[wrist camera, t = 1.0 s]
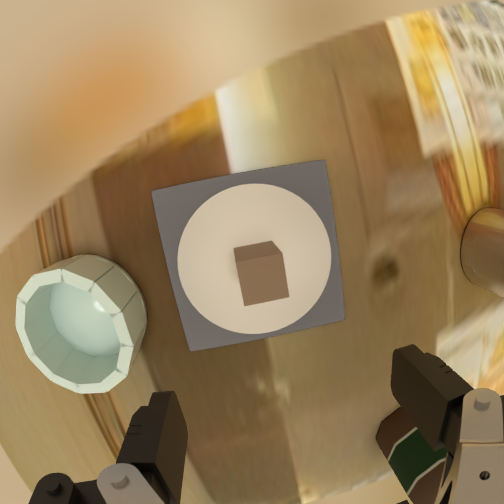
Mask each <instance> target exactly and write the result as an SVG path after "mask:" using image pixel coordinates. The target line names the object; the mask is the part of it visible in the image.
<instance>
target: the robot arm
mask: <svg viewBox="0 0 504 504" xmlns="http://www.w3.org/2000/svg"><path fill="white" fill-rule="evenodd" d="M461 261H462V266H463V270H464V272H465V274H466V276H467V278H468V279H469V280H470V281H471V282H473V283H474V284H476V285H479V286H481V287H483V288H485V289H487V290H489V291H492V292H494V293H496V294H498V295H500V296H502V297H504V210H503V209H496V208H489V207H488V208H483V209H481V210H480V211H478V212H477V213H476V214H475V215H474V216H473V217H472V219H471V220H470V221H469V223H468V226H467V228H466V230H465V233H464V236H463V241H462V246H461ZM391 389H392V393H393V396H394V397H395V399H396V400H397V402H398V403H399V404H400V406H401V407H402V408H403V410H404V411H405V412H406V414H407V415H408V416H409V418H410V419H411V420H412V422H413V423H414V424H415V426H416V427H417V429H418V430H419V431H420V433H421V434H422V435H423V437H424V438H425V439H426V441H427V442H428V444H429V445H430V446H431V448H432V449H433V451H436V450H438V449H441V448H443V447H446V448H447V449H448V451H447V454H446V458H445V464H444V469H443V473H442V478H441V482H440V487H439V491H438V495H437V498H436V501H435V503H434V504H504V395H502V396H499V395H498V394H497V393H496V392H495V391H493V390H490V389H486V388H478V389H473V388H472V387H471V386H470V385H469V384H468V383H467V382H466V381H465V380H464V379H462V378H461V377H460V376H459V375H458V374H457V373H456V372H455V371H453V370H452V369H451V368H450V367H449V366H447V365H446V363H445V362H443V361H442V360H441V359H440V358H439V357H437V356H434V355H432V354H430V353H423V352H422V351H421V350H420V349H419V348H418V347H416V346H415V345H414V344H411V345H408V346H405V347H402V348H398V349H395V350H394V352H393V360H392V374H391ZM126 434H127V435H125V438H124V441H123V444H122V447H121V450H120V453H119V456H118V458H117V461H116V464H113V465H111V466H108V467H107V468H105V469H104V470H103V471H102V472H101V473H100V474H99V476H98V478H97V480H93V481H86V482H79V483H73V481H72V480H71V479H70V477H69V476H67V475H65V474H63V473H52V474H48V475H46V476H44V477H43V478H42V479H41V480H40V481H39V482H38V483H37V485H36V487H35V490H34V492H33V494H32V497H31V499H30V502H29V504H180V498H181V489H182V480H183V472H184V463H185V455H186V447H187V439H188V432H187V425H186V422H185V419H184V416H183V413H182V411H181V408H180V405H179V402H178V399H177V396H176V394H175V392H174V391H165V392H153V393H152V396H151V399H150V402H149V405H148V406H141V407H140V408H139V409H138V410H137V411H136V412H135V413H134V415H133V416H132V419H131V422H130V424H129V427H128V430H127V433H126ZM397 504H409V503H408V501H407V500H405V501H402V502H400V503H397Z"/></svg>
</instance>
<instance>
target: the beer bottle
mask: <svg viewBox="0 0 504 504" xmlns="http://www.w3.org/2000/svg"><path fill="white" fill-rule="evenodd" d="M376 440H377V442H378V444H379V447H380V449H381V450H382V452H383V454H384V455H385V457H386V459H387V461H388V462H389V464H390V466H391V467H392V469H393V471H394V473H395V474H396V476H397V477H398V480H399V481H400V483H401V485H402V486H403V488H404V490H405V492H406V493H407V495H408V497H409V498H410V499H411V501H412V502H413V504H434V503H435V501H436V498H437V495H438V491H439V487H440V482H441V478H442V473H443V469H444V464H445V458H446V454H447V451H448V449H447V448H446V447H443V448H441V449H438V450H436V451H433V449H432V448H431V446H430V445H429V444H428V442H427V441H426V439H425V438H424V437H423V435H422V434H421V433H420V431H419V430H418V429H417V427H416V426H415V424H414V423H413V422H412V420H411V419H410V418H409V416H408V415H407V414H406V412H405V411H404V410H403V408H399V409H397V410H396V411H395V412H394V413H392V414H391V415H390V416H389V417H387V418H386V419H385V420H384V421H382V423H381V426H380V429H379V431H378V434H377V436H376Z"/></svg>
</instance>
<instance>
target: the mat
mask: <svg viewBox="0 0 504 504" xmlns="http://www.w3.org/2000/svg"><path fill="white" fill-rule="evenodd" d="M244 184H268V185H274V186H277V187H280V188H284V189H286V190H288V191H290V192H292V193H294V194H296V195H297V196H299V197H300V198H302V199H303V200H304V201H305V202H306V203H308V204H309V205H310V206H311V207H312V208H313V210H314V211H315V212H316V213H317V215H318V216H319V218H320V219H321V221H322V223H323V225H324V227H325V229H326V231H327V234H328V237H329V242H330V247H331V268H330V273H329V277H328V280H327V283H326V286H325V288H324V290H323V292H322V294H321V296H320V297H319V299H318V300H317V302H316V303H315V304H314V305H313V307H312V308H311V309H310V310H309V311H308V312H307V313H306V314H305V315H304V316H302V317H301V318H300V319H298V320H297V321H295V322H294V323H292V324H290V325H288V326H286V327H284V328H281V329H279V330H276V331H272V332H268V333H261V334H245V333H238V332H233V331H230V330H227V329H224V328H221V327H220V326H218V325H216V324H214V323H212V322H211V321H209V320H208V319H206V318H205V317H204V316H203V315H202V314H201V313H199V312H198V311H197V309H196V308H195V307H194V306H193V305H192V303H191V302H190V300H189V299H188V297H187V296H186V294H185V291H184V289H183V287H182V284H181V281H180V278H179V272H178V260H177V257H178V248H179V244H180V239H181V236H182V234H183V231H184V229H185V227H186V225H187V223H188V221H189V220H190V218H191V217H192V216H193V214H194V213H195V212H196V210H197V209H198V208H199V207H200V206H201V205H202V204H203V203H204V202H206V201H207V200H208V199H210V198H211V197H212V196H214V195H216V194H217V193H219V192H221V191H223V190H226V189H228V188H231V187H234V186H238V185H244ZM151 193H152V198H153V203H154V208H155V213H156V218H157V222H158V227H159V232H160V236H161V241H162V245H163V250H164V254H165V258H166V262H167V267H168V271H169V275H170V279H171V283H172V287H173V291H174V295H175V299H176V302H177V306H178V310H179V314H180V317H181V321H182V324H183V328H184V332H185V335H186V339H187V342H188V345H189V349H190V351H197V350H203V349H209V348H215V347H221V346H226V345H232V344H237V343H242V342H248V341H253V340H258V339H263V338H268V337H273V336H277V335H282V334H287V333H291V332H296V331H300V330H304V329H309V328H313V327H317V326H321V325H326V324H330V323H334V322H338V321H342V320H345V313H344V301H343V290H342V279H341V269H340V260H339V251H338V243H337V235H336V227H335V220H334V212H333V205H332V199H331V192H330V186H329V179H328V173H327V167H326V161H325V160H319V161H311V162H304V163H297V164H290V165H284V166H277V167H271V168H265V169H259V170H253V171H247V172H242V173H236V174H231V175H225V176H220V177H215V178H210V179H205V180H200V181H195V182H190V183H185V184H181V185H176V186H172V187H167V188H163V189H158V190H154V191H151Z"/></svg>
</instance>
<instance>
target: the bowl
mask: <svg viewBox="0 0 504 504" xmlns="http://www.w3.org/2000/svg"><path fill="white" fill-rule="evenodd" d="M146 326H147V309H146V304H145V301H144V298H143V295H142V293H141V291H140V289H139V287H138V285H137V284H136V282H135V281H134V279H133V278H132V277H131V276H130V275H129V274H128V273H127V272H126V271H125V270H124V269H123V268H122V267H121V266H119V265H118V264H116V263H115V262H113V261H112V260H109V259H107V258H105V257H102V256H98V255H92V254H82V255H76V256H73V257H71V258H69V259H65V260H61V261H59V262H57V263H55V264H53V265H51V266H49V267H47V268H45V269H43V270H42V271H40V272H38V273H36V274H34V275H33V276H32V277H31V278H30V280H29V281H28V282H27V284H26V285H25V286H24V288H23V289H22V291H21V292H20V293H19V295H18V297H17V304H16V329H17V332H18V334H19V337H20V339H21V342H22V344H23V347H24V349H25V352H26V354H27V356H29V357H28V358H29V359H30V360H31V361H32V362H33V363H34V364H35V365H36V366H37V367H38V368H39V369H40V371H41V372H42V373H43V374H44V375H45V376H46V377H47V378H48V379H49V380H51V381H52V382H54V383H56V384H58V385H61V386H63V387H65V388H67V389H69V390H72V391H74V392H76V393H80V394H83V393H104V392H108V391H109V390H110V389H112V388H113V387H114V386H115V385H117V384H118V383H119V382H120V381H122V380H123V379H124V378H125V377H127V375H128V373H129V371H130V368H131V366H132V364H133V362H134V360H135V358H136V356H137V353H138V351H139V349H140V347H141V343H142V339H143V337H144V334H145V331H146Z"/></svg>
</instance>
